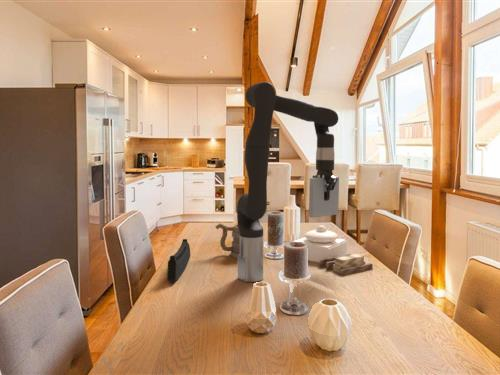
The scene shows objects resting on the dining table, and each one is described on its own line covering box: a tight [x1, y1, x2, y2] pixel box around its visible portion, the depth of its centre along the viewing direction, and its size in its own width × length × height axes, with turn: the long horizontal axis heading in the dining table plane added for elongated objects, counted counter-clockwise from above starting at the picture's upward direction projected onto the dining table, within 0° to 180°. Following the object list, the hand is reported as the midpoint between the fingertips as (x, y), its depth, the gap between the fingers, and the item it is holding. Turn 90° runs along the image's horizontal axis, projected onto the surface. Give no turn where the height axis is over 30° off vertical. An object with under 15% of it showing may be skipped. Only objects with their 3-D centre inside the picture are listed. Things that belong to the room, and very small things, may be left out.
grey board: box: [308, 176, 340, 218], centre depth 177 cm, size 14×2×16 cm, turn 121°
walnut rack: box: [317, 253, 374, 277], centre depth 175 cm, size 18×14×4 cm
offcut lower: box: [333, 260, 366, 273], centre depth 173 cm, size 14×4×2 cm, turn 121°
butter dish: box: [292, 224, 348, 263], centre depth 191 cm, size 18×18×16 cm
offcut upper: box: [335, 253, 365, 266], centre depth 173 cm, size 12×4×2 cm, turn 121°
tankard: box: [215, 223, 240, 259], centre depth 199 cm, size 20×13×15 cm, turn 84°
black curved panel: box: [166, 238, 191, 283], centre depth 173 cm, size 17×3×30 cm
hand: (324, 199), depth 178 cm, fingers closed on grey board, 2 cm apart
